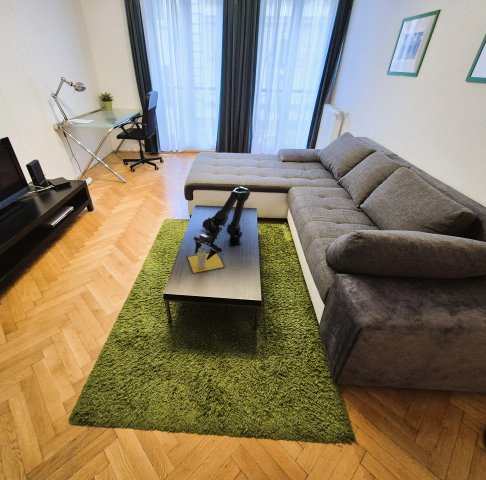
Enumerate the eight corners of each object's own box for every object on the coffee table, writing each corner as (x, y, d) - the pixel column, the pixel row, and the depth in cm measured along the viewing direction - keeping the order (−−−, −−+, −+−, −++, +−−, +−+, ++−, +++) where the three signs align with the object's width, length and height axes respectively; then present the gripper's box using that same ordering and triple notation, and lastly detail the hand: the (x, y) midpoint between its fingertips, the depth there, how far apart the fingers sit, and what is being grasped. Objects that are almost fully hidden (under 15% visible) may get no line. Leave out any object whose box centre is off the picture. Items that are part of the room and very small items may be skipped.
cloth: (216, 252, 173) (216, 251, 173) (223, 267, 161) (223, 266, 161) (187, 257, 168) (187, 257, 168) (193, 273, 156) (193, 272, 155)
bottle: (206, 263, 163) (205, 247, 156) (205, 268, 159) (205, 252, 152) (198, 263, 163) (197, 246, 156) (197, 268, 159) (196, 251, 152)
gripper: (194, 224, 155) (182, 247, 154) (218, 235, 146) (206, 260, 145) (203, 229, 165) (192, 252, 164) (227, 240, 155) (215, 264, 154)
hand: (200, 256), depth 156 cm, fingers open, 9 cm apart
